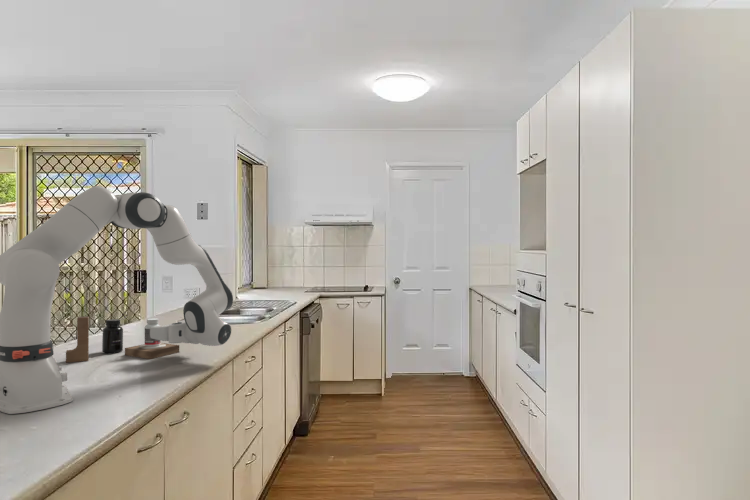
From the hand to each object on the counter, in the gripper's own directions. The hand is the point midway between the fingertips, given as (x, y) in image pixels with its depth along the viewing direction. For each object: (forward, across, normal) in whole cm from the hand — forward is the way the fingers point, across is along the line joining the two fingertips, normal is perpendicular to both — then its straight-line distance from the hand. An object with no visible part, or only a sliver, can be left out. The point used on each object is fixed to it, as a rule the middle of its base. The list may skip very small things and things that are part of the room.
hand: (162, 327), depth 183 cm
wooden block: (+18, +20, +10) cm, 29 cm away
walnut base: (+5, 0, +10) cm, 11 cm away
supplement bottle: (+20, +5, +10) cm, 23 cm away
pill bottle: (+5, 0, +7) cm, 9 cm away
